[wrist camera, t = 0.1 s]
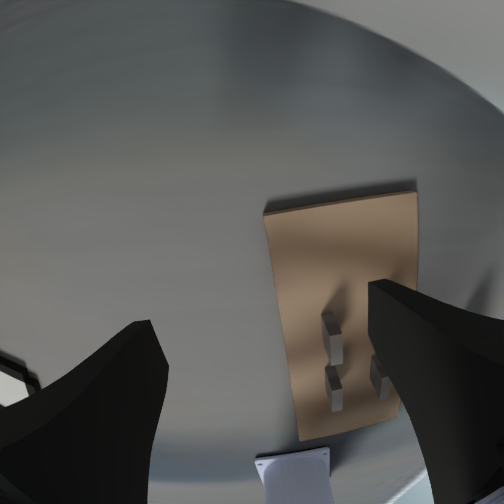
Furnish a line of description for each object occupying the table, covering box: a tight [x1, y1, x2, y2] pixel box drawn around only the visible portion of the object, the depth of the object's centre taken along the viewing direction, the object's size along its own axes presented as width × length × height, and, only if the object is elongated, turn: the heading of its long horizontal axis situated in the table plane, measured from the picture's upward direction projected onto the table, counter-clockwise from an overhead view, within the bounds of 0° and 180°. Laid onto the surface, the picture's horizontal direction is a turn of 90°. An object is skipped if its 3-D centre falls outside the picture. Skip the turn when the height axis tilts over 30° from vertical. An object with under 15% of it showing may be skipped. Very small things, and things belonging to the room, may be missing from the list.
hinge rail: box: [263, 190, 418, 441], centre depth 21 cm, size 22×10×3 cm, turn 10°
